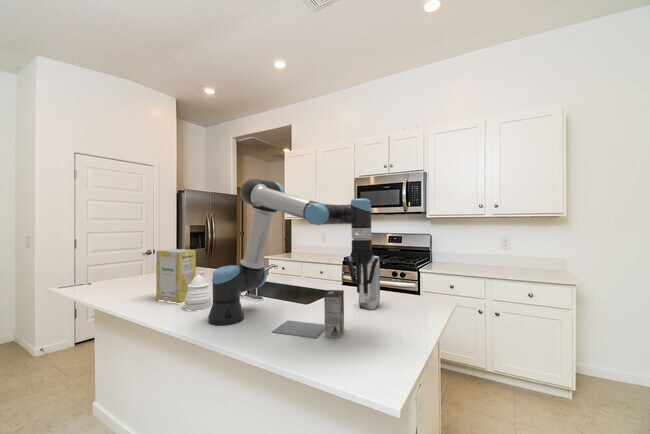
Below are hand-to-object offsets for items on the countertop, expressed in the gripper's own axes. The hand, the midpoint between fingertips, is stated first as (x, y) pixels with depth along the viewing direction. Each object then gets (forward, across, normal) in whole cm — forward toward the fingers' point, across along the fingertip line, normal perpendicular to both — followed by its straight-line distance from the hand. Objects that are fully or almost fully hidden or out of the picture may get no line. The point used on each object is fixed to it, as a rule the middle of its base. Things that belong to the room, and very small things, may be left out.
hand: (362, 301), depth 113 cm
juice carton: (+14, -5, +39) cm, 42 cm away
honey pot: (+13, -88, +11) cm, 90 cm away
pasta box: (+13, -110, +18) cm, 112 cm away
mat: (+13, -26, 0) cm, 29 cm away
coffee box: (+14, -11, 0) cm, 18 cm away
